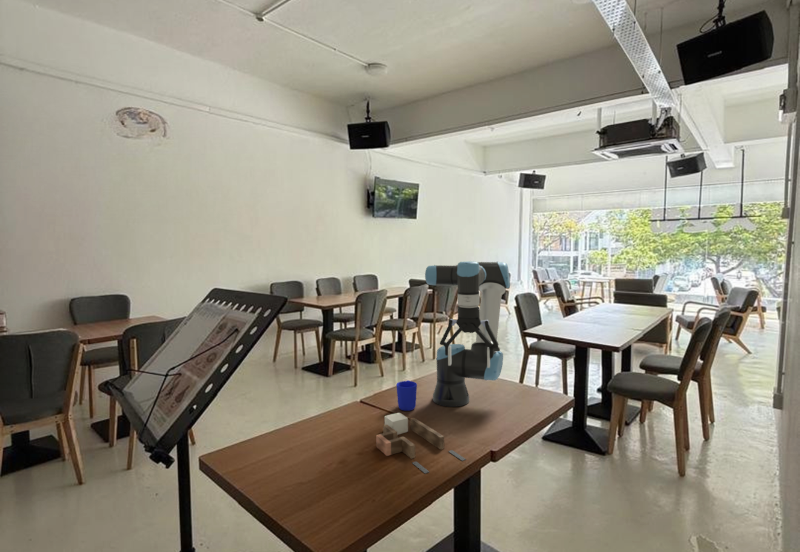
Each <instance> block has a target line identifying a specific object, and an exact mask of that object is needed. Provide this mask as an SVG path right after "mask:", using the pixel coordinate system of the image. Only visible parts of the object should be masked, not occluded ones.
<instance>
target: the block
mask: <svg viewBox="0 0 800 552" xmlns="http://www.w3.org/2000/svg"><path fill="white" fill-rule="evenodd" d="M384 425H389V426H390V427H391V428H393V429H394V430H395V431H397V436H398V435H401V434H404V433H407V432H409V418H408V417H407V416H405V415H404V414H402V413H401V412H397V413H391V414H387V415H385V416H384Z"/></svg>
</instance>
